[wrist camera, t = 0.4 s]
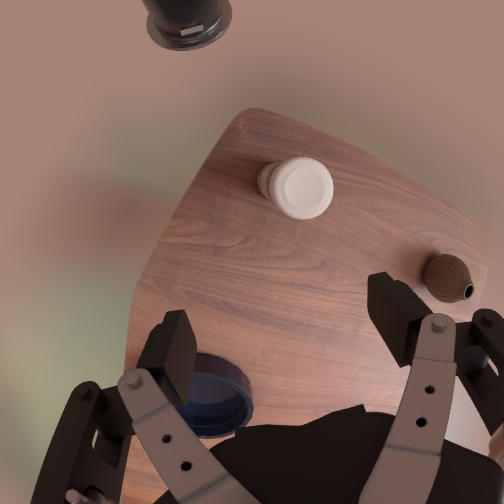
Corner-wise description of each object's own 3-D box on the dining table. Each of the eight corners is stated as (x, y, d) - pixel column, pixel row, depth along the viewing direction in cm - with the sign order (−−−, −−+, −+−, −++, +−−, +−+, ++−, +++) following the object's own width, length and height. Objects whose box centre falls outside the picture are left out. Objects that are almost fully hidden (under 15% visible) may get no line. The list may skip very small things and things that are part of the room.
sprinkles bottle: (294, 200, 33) (334, 220, 20) (256, 200, 33) (272, 221, 20) (294, 161, 32) (335, 158, 19) (255, 161, 31) (272, 155, 18)
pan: (149, 346, 37) (142, 364, 33) (256, 356, 39) (259, 376, 34) (157, 413, 41) (153, 432, 37) (245, 421, 43) (247, 441, 39)
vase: (450, 246, 36) (487, 264, 28) (445, 286, 38) (478, 308, 30) (419, 252, 36) (457, 272, 28) (415, 294, 38) (448, 320, 30)
